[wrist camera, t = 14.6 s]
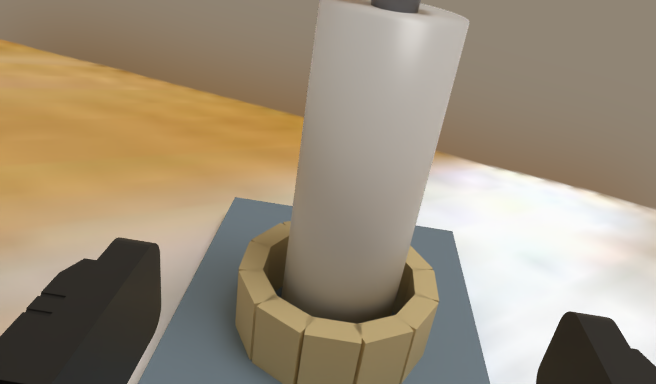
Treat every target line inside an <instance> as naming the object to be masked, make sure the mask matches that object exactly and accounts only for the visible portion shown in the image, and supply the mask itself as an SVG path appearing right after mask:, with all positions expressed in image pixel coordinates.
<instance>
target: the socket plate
mask: <svg viewBox="0 0 656 384" xmlns="http://www.w3.org/2000/svg"><path fill="white" fill-rule="evenodd" d="M292 209H293V206H288V205H281V204H275V203H268V202H262V201H256V200H249V199H243V198H237V197H235V199H234V201H233V203H232V204H231V206H230V208H229V210H228V212H227V214H226V216H225V218H224V220H223V222H222V224H221V225H220V227H219V229H218V231H217V233H216V235H215V237H214V239H213V241H212V243H211V245H210V247H209V248H208V250H207V252H206V254H205V256H204V258H203V260H202V262H201V264H200V266H199V268H198V270H197V271H196V273H195V275H194V277H193V279H192V281H191V283H190V285H189V287H188V289H187V291H186V293H185V294H184V296H183V298H182V300H181V302H180V304H179V306H178V308H177V310H176V312H175V314H174V315H173V317H172V319H171V321H170V323H169V325H168V327H167V329H166V331H165V333H164V335H163V337H162V338H161V340H160V342H159V344H158V346H157V348H156V350H155V352H154V354H153V356H152V358H151V360H150V361H149V363H148V365H147V367H146V369H145V371H144V373H143V375H142V377H141V379H140V381H139V382H138V384H490V381H489V377H488V373H487V369H486V365H485V361H484V357H483V353H482V349H481V345H480V341H479V337H478V333H477V329H476V325H475V321H474V317H473V313H472V309H471V305H470V301H469V297H468V293H467V289H466V285H465V280H464V276H463V272H462V268H461V264H460V260H459V256H458V252H457V248H456V244H455V240H454V236H453V232H452V231H447V230H440V229H434V228H428V227H421V226H415V229H414V232H413V236H412V240H411V244H410V247H409V251H408V255H407V259H406V262H405V266H404V270H403V274H402V278H401V281H400V285H399V289H398V293H397V296H396V300H395V304H394V308H393V311H392V315H391V316H389V317H385V318H380V319H376V320H372V321H368V322H364V323H359V324H355V323H348V322H342V321H336V320H330V319H323V318H317V317H312V316H310V315H309V314H307V313H305V312H303V311H302V310H300V309H298V308H297V307H295V306H293V305H292V304H290V303H288V302H287V301H285V300H283V299H282V298H281V295H282V287H283V279H284V271H285V264H286V256H287V248H288V240H289V232H290V224H291V217H292Z"/></svg>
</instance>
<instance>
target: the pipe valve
mask: <svg viewBox="0 0 656 384" xmlns="http://www.w3.org/2000/svg"><path fill="white" fill-rule="evenodd" d="M420 1H421V0H319V6H318V14H317V22H316V29H315V37H314V45H313V53H312V61H311V68H310V77H309V85H308V92H307V100H306V108H305V115H304V123H303V131H302V139H301V146H300V154H299V162H298V170H297V178H296V185H295V193H294V201H293V209H292V217H291V224H290V232H289V240H288V248H287V256H286V264H285V271H284V279H283V287H282V295H281V298H282V299H283V300H285V301H287V302H288V303H290V304H292V305H293V306H295V307H297V308H298V309H300V310H302V311H303V312H305V313H307V314H309V315H310V316H312V317H317V318H323V319H330V320H336V321H342V322H348V323H355V324H359V323H364V322H368V321H372V320H376V319H380V318H385V317H389V316H391V315H392V311H393V308H394V304H395V300H396V296H397V293H398V289H399V285H400V281H401V278H402V274H403V270H404V266H405V262H406V259H407V255H408V251H409V247H410V244H411V240H412V236H413V232H414V229H415V225H416V221H417V217H418V214H419V210H420V206H421V202H422V199H423V195H424V191H425V187H426V184H427V180H428V176H429V172H430V169H431V165H432V161H433V157H434V154H435V150H436V146H437V142H438V139H439V134H440V131H441V127H442V123H443V120H444V116H445V112H446V109H447V105H448V101H449V97H450V94H451V90H452V86H453V82H454V78H455V75H456V71H457V67H458V64H459V60H460V56H461V52H462V48H463V45H464V41H465V37H466V34H467V30H468V26H469V20H468V19H467V18H465V17H463V16H461V15H459V14H456V13H454V12H451V11H448V10H444V9H440V8H437V7H433V6H429V5H425V4H421V3H420Z"/></svg>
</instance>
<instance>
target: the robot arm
mask: <svg viewBox="0 0 656 384" xmlns="http://www.w3.org/2000/svg"><path fill="white" fill-rule="evenodd" d="M160 311H161V277H160V250H159V246H158V245H157V244H156V243H150V242H144V241H138V240H132V239H125V238H116V239H115V240H114V241H113V242H112V243H111V244H110V245H109V246H108V248H107V249H106V250H105V251H104V252H103V253H102V255H101V256H100V257H99V258H98V259H97V260H91V259H83V260H81V261H79V262H78V263H76V264H74V265H72V266H70V267H69V268H67V269H65V270H63V271H62V272H60V273H59V274H58V275H57V276H56V277H55V278H54V279H53V280H52V281H51V282H50V283H49V284H48V285H47V287H46V288H45V289H44V290H43V291H42V292H41V296H37V297H36V298H35V300H34V301H33V302H32V303H31V304H30V305H29V306H28V307H27V309H26V312H25V313H24V312H23V313H22V314H21V315H20V316H19V317H18V318H17V319H16V320H15V321H14V322H13V323H12V324H11V325H10V327H9V328H8V329H7V330H6V331H5V332H4V333H3V334H2V335H1V336H0V384H127V383H128V381H129V379H130V377H131V375H132V374H133V372H134V370H135V368H136V366H137V364H138V363H139V361H140V359H141V357H142V355H143V354H144V352H145V350H146V348H147V346H148V344H149V343H150V341H151V339H152V337H153V335H154V333H155V331H156V328H157V325H158V321H159V317H160ZM536 384H656V366H655V365H653V364H652V363H651V362H650V361H649V360H648V359H647V358H646V357H645V356H644V355H643V354H642V353H641V352H640V351H639V350H637V349H631V348H630V346H629V345H628V343H627V341H626V340H625V338H624V336H623V335H622V333H621V331H620V330H619V328H618V326H617V325H616V323H615V322H614V321H613V320H612V319H610V318H607V317H601V316H595V315H589V314H583V313H576V312H567V313H565V314H564V315H563V317H562V318H561V320H560V322H559V324H558V326H557V329H556V331H555V333H554V335H553V337H552V340H551V342H550V344H549V346H548V349H547V351H546V353H545V355H544V357H543V360H542V362H541V364H540V366H539V369H538V373H537V380H536Z"/></svg>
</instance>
